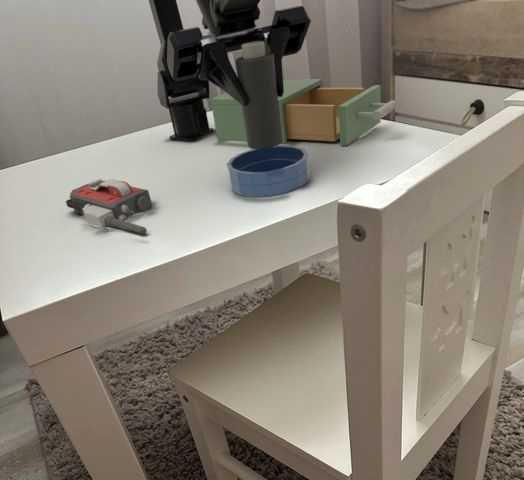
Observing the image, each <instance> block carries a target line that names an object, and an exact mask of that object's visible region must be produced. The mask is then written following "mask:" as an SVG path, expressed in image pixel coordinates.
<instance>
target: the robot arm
mask: <svg viewBox="0 0 524 480" xmlns="http://www.w3.org/2000/svg"><path fill="white" fill-rule="evenodd" d="M195 2H196V4H197V6H198V9H199V11H200V12H201V15H202V17H201V19H202V20H201V24H202V27H203V29H204V30H208V32H205V33H202V31H201V28H200V27H198V26H193V27H189V28H185V29H184V25H183V21H182V17H181V14H180V10H179V6H178V2H177V0H148V3H149V8H150V10H151V15H152V18H153V21H154V25H155V30H156V33H157V37H158V40H159V43H160V47H159V48H160V49H159V52H158V57H157V62H156V65H157V69H158V71H157V84H156V85H157V88H156V90H157V91H156V92H157V97H158V101H159V104H160V105H161V106H162V107H164V108H165V109H168V111H169V116H170V121H171V125H172V129H173V134H171V135H170V136H169V140H172V141H173V140H176V141H186V142H188V141H189V142H194V141H197V140H199V139H201V138H202V137H205V136H207V135H209V134H211V133H213V132H214V131H215V129H214V127H210V124H209V118H208V113H207V109H206V108H205V105H204V100H207V99H210V83H211V84H213V85H214V86H216V87H217V88H219V89H221V90H222V91H223V92H224V93H227V94H229V95H230V96H231V97H232V98H234V99H235V100H236V101H237V102H239V103H240V104H241V105H242V106H246V105H247V98H246V95H245V92H244V89H243V87H242V85H241V83H240V81H239V79H238V75H237V72H236V70H235V69H234V67H233V65H232V63H231V61H230V57H229V55H230V54H236V53H239V52H242V44H245V43H248V42H254V41H264V46H265V53H273V54H274V63H275V72H276V82H277V91H278V96H279V97H282V96H283V93H284V87H283V79H284V77H283V76H284V74H283V63H282V61H283V57H287V56H291V55H295V54H297V53H299V52H300V51H302V48H303V44H304V42H305V39H306V36H307V33H308V30H309V28H310V26H311V22H312V20H311V17H310V15H309V14H308V13H309V12H308V11H307V9H306V8H305V7H304V6H303V5H295V6H291V7H287V8H286V7H285V8H281V9H276V10H274V14H273V18H272V22H271V25H265V26H262V25H256V21H257V20H259V19H260V17H261V10H260V8H259V3H260V2H261V0H195Z"/></svg>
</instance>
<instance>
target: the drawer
mask: <svg viewBox="0 0 524 480" xmlns="http://www.w3.org/2000/svg"><path fill="white" fill-rule="evenodd" d="M381 86H382V85H381V84H378V85H377V84H374V85H372V86H369V88H365V87H323V88H313V89H312V90H310V91H308V92H306V93H304V94H302V95H300V96H298V97H296V98H294V99H292V100H290V101H288V102H286V103H284V104H283V106H284V115H285V125H286V135H287V139H293V140H303V141H305V140H306V141H319V142H336V141H338V140H339V146H344V147H345V146H346V147H348V146H349V145H351V144H352V143H353V142H355V141H357V139H359V138H360V137H362V136H363V135H365V134H366V133H367V132H369V131H370V130H372V129H373V128H374V127H375V126H377V125H378V124H380V123H382V122H381V119H383V118H384V117H385V116H387V115H388V114H390V113H391V112H392V111H394V110H395V109H396V108H397V102H396V101H395V100H393V99H392V100H389V101H388V102H382V101H381V100H382V99H381V98H382V97H381V96H382V95H381V93H382V90H381V89H382V87H381Z"/></svg>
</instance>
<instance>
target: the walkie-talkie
mask: <svg viewBox="0 0 524 480" xmlns="http://www.w3.org/2000/svg"><path fill="white" fill-rule="evenodd" d="M65 204H66V206H67V207H68V208H69V209H73V210H74V212H75V213H77V214H79V215H83V216H84V217H85V219H86V223H88V224H90V225H92V226H93V227H96V228H99V229H100V230H102V231H105V230H107V229H108V228H107V227H111V228H118V229H120V230H123V231H128V232H136V233H138V234H147V233H148V230H147V228H146V227H145V226H142V225H138V224H135V223H132V222H128V221H124V220H128V217H130V216H131V215H134V214H136V213H139V212H142V213H143V212H145V211H147V210H149V209H151V206H152V205H153V204H152V200H151V195H150V192H149V190H148V189H145V188H142V187H141V188H140V187H136V186H132V185H130V184H129V183H128V182H127V181H125V180H119V179H114V178H110V179H107V180H103V179H102V178H98V179H96V180H93V181H90V182H88V183H86V184H84V185H81V186H80V187H76V188H74V189H72V190H71V192H70V193H69V199H67V200H66V201H65Z"/></svg>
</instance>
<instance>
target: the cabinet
mask: <svg viewBox="0 0 524 480" xmlns="http://www.w3.org/2000/svg"><path fill="white" fill-rule="evenodd" d="M283 87H284V93H283V96H282V97H279V96H278V101H279V110H280V119H281V129H282V138H283V142H282V143H281V144H280V145H286V144H288V143H290V142H291V141H293V140H294V139H287V135H286V125H285V115H284V106H283V104H284V103H286V102H288V101H290V100H292V99H294V98H296V97H298V96H300V95H302V94H304V93H306V92H308V91H310V90H312V89H313V88H324V85H323V78H286V79H284V78H283ZM209 100H210V104H211V110H212V116H213V122H214V127H215V132H216V137H217V144H218V145H219V144H221V143H223V142H224V141H232V142H247V137H246V130H245V123H244V116H243V109H242V105H241V104H240V103H239V102H237V101H236V100H235V99H234V98H232V97H231V96H230V95H229V94H227V93H226V92H223V93H221V94H218V95H216V96H214V97H211V98H209Z"/></svg>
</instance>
